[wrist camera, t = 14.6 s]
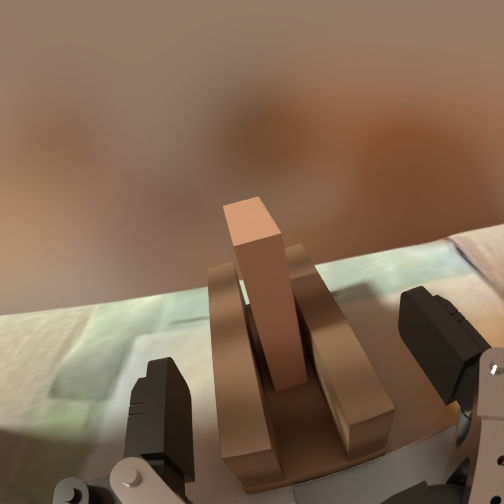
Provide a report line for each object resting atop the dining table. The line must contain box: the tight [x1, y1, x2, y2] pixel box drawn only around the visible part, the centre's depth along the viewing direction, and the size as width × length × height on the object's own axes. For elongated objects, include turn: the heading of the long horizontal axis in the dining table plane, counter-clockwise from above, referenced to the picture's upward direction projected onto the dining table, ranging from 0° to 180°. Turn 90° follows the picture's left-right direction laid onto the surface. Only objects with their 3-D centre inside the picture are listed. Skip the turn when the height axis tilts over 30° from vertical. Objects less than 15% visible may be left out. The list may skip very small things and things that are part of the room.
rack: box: [207, 244, 395, 494], centre depth 22 cm, size 18×9×6 cm, turn 8°
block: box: [223, 197, 308, 392], centre depth 21 cm, size 6×2×12 cm, turn 10°
